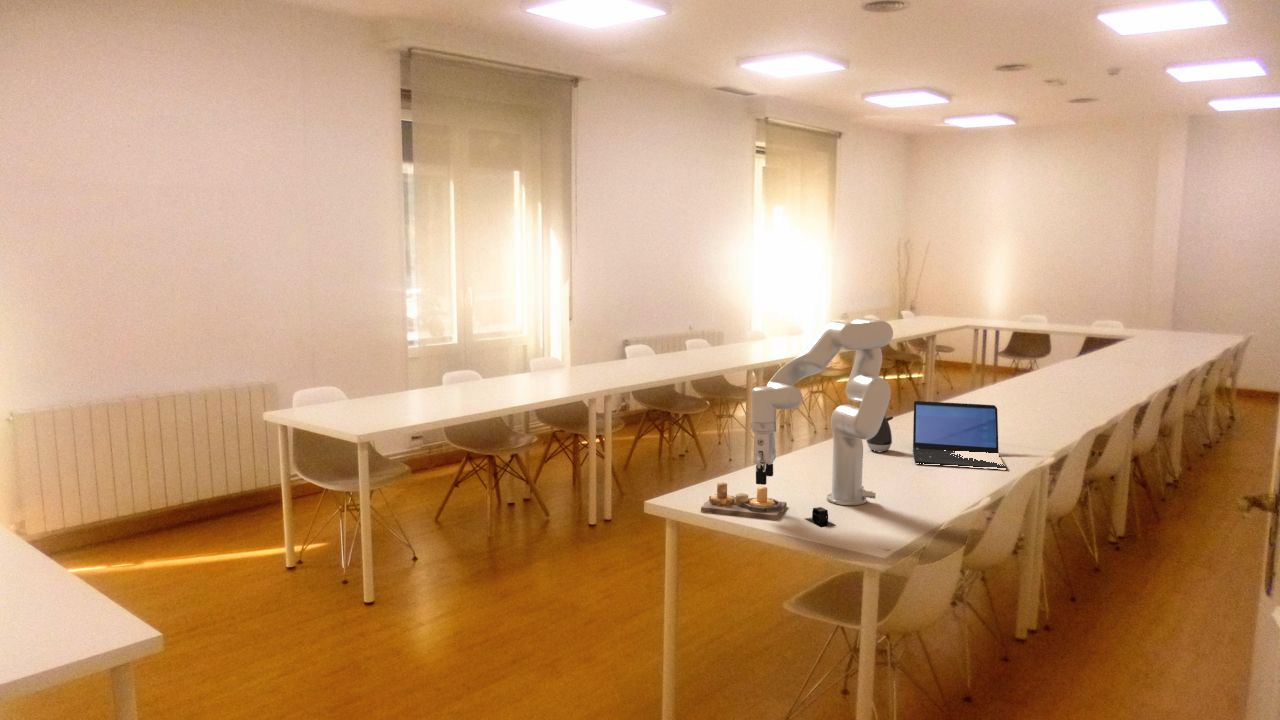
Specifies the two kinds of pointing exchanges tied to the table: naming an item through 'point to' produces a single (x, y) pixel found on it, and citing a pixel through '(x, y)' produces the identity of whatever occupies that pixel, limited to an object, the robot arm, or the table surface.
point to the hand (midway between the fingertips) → (764, 480)
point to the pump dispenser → (881, 437)
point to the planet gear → (761, 499)
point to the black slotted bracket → (820, 517)
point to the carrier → (740, 505)
